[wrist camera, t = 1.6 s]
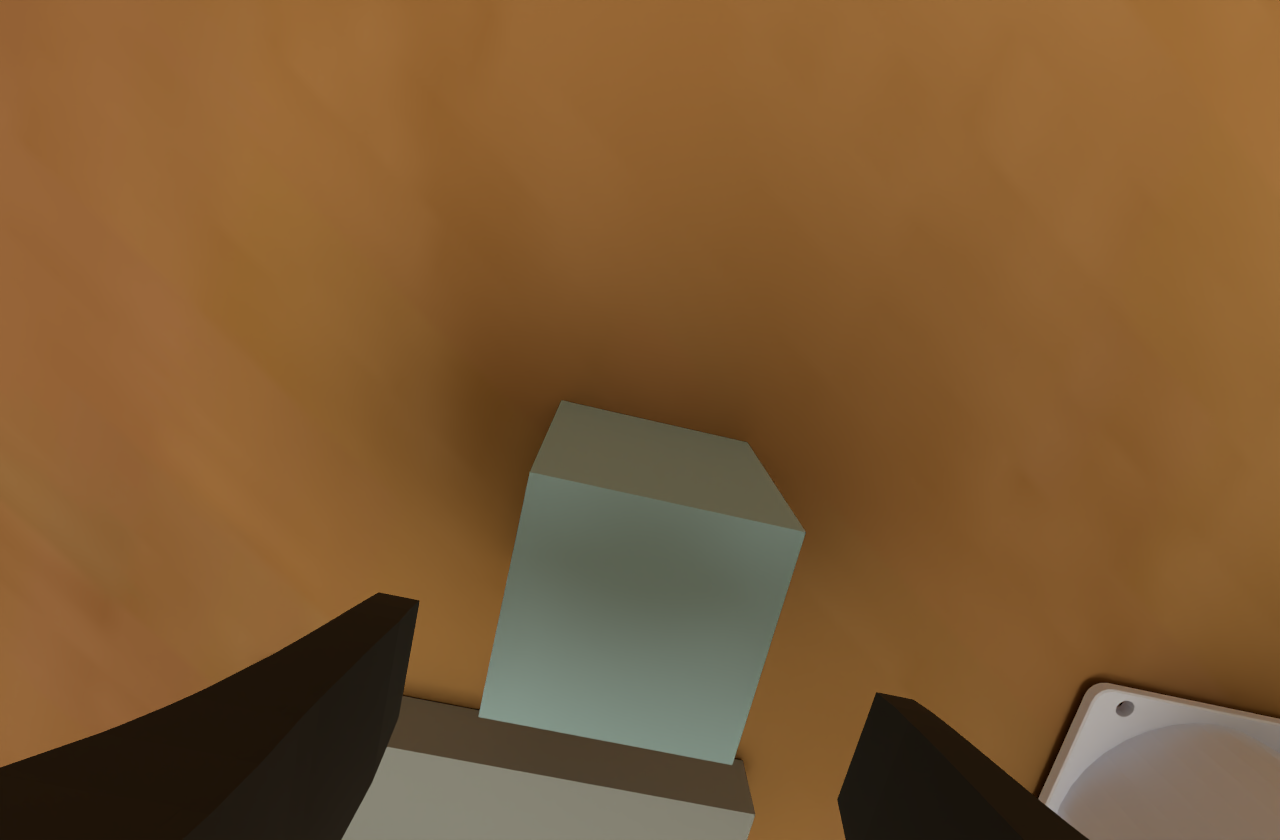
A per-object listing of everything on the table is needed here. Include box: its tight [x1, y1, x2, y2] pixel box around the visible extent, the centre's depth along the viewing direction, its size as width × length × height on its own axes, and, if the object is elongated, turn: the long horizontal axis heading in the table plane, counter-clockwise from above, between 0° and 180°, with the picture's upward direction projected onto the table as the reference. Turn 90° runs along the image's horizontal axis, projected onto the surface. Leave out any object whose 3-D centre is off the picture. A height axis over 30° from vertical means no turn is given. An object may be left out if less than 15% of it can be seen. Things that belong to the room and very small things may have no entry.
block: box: [478, 400, 806, 765], centre depth 15 cm, size 5×5×6 cm
